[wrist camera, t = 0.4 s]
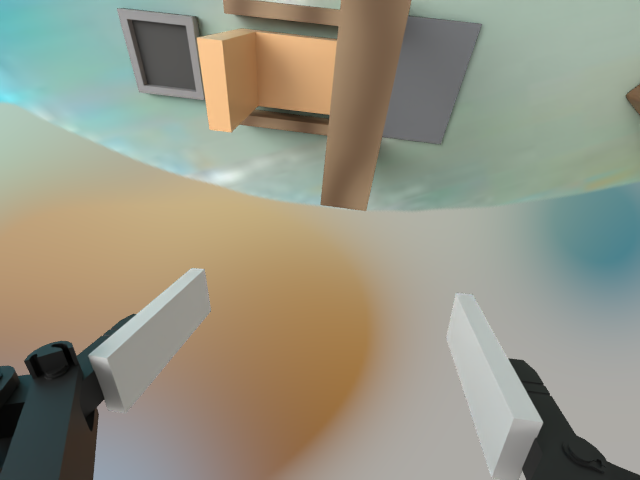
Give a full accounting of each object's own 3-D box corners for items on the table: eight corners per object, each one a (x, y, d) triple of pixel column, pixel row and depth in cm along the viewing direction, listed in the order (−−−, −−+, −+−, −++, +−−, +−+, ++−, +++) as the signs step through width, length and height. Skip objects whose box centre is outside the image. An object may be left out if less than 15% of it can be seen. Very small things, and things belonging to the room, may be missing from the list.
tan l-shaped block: (246, 99, 36) (209, 129, 27) (242, 28, 32) (196, 37, 23) (346, 111, 36) (340, 146, 27) (355, 41, 31) (352, 55, 23)
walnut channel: (242, 129, 39) (186, 186, 27) (230, -22, 30) (137, -40, 17) (365, 145, 38) (366, 211, 26) (392, -5, 29) (413, -10, 17)
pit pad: (144, 89, 37) (139, 92, 36) (123, 8, 32) (116, 8, 31) (208, 97, 37) (204, 100, 36) (196, 16, 32) (191, 16, 31)
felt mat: (351, 132, 37) (351, 133, 37) (369, 11, 30) (369, 11, 30) (440, 143, 37) (440, 144, 37) (481, 23, 30) (481, 24, 29)
